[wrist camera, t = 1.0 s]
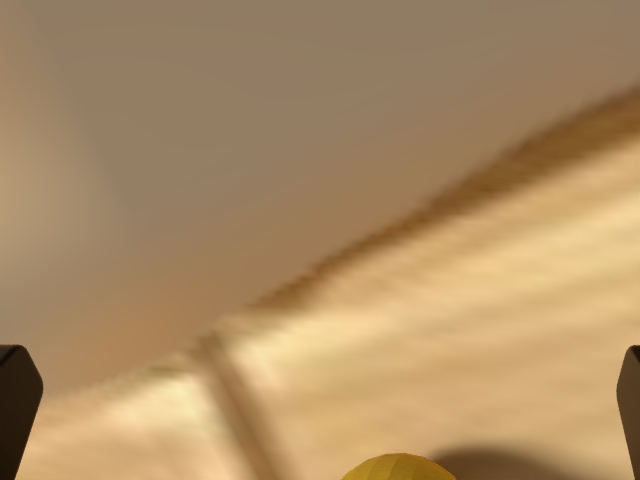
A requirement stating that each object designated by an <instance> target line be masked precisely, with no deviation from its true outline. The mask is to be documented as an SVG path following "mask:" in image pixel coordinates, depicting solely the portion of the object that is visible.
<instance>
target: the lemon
mask: <svg viewBox="0 0 640 480" xmlns="http://www.w3.org/2000/svg"><path fill="white" fill-rule="evenodd" d="M341 480H457V479H456V478H455V477H454V476H453V475H452V474H451V473H449V472H448V471H447V470H445V469H444V468H443V467H441V466H440V465H439V464H436V463H434V462H432V461H430V460H428V459H425V458H423V457H420V456H415V455H411V454H406V453H399V454H385V455H382V456H378V457H375V458H372V459H369V460H367V461H365V462H363V463H362V464H360V465H359V466H357V467H355V468H354V469H352V470H351V471H349V472H348V473H347V474H346V475H345V476H344V477H343V478H342V479H341Z"/></svg>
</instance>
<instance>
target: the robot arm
mask: <svg viewBox="0 0 640 480" xmlns="http://www.w3.org/2000/svg"><path fill="white" fill-rule="evenodd" d="M616 392H617V402H618V407H619V411H620V415H621V420H622V424H623V429H624V433H625V437H626V442H627V446H628V451H629V455H630V459H631V464H632V468H633V472H634V477H635V480H640V345H633V346H630V347H629V348H628V349H627V351H626V354H625V357H624V361H623V365H622V368H621V372H620V376H619V379H618V383H617V390H616ZM42 394H43V381H42V378H41V376H40V374H39V372H38V370H37V368H36V366H35V365H34V362H33V360H32V358H31V356H30V354H29V353H28V351H27V349H26V348H25V347H23V346H22V345H0V480H15V477H16V474H17V472H18V469H19V466H20V463H21V459H22V456H23V453H24V450H25V447H26V444H27V441H28V438H29V435H30V432H31V429H32V426H33V423H34V419H35V416H36V413H37V410H38V407H39V404H40V401H41V398H42Z"/></svg>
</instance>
